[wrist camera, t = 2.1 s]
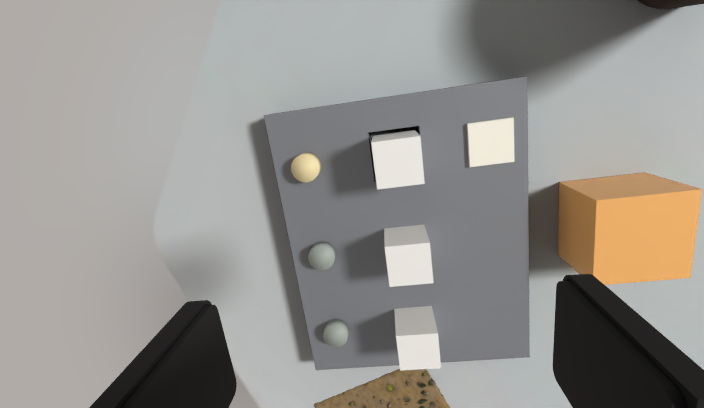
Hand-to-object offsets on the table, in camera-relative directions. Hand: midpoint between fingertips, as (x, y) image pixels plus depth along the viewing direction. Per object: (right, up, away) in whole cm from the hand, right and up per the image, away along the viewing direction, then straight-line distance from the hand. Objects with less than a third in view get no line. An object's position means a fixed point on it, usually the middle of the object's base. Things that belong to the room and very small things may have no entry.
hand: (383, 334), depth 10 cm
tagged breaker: (+2, +7, +16) cm, 18 cm away
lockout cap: (+18, +3, +18) cm, 26 cm away
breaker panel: (+3, +1, +20) cm, 20 cm away
